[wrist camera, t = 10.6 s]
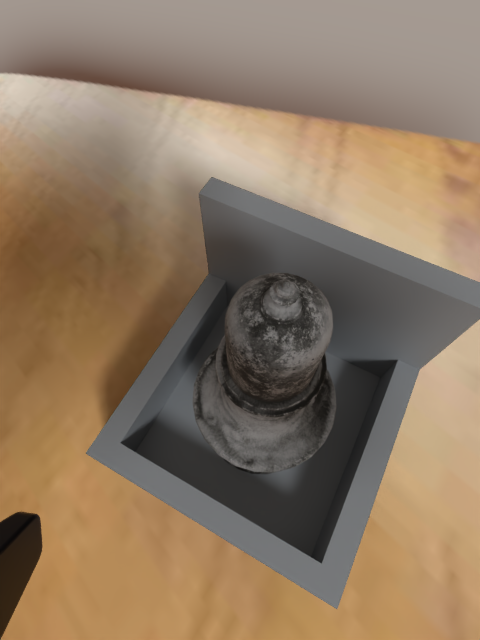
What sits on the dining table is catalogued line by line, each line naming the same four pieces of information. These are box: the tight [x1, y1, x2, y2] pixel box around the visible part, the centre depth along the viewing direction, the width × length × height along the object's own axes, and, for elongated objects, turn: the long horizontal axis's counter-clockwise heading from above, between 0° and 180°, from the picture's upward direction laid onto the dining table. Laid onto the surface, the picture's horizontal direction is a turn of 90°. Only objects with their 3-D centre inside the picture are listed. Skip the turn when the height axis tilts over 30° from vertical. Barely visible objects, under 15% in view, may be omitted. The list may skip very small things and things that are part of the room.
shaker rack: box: [86, 177, 480, 609], centre depth 16 cm, size 11×11×9 cm
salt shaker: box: [192, 273, 337, 474], centre depth 14 cm, size 6×6×12 cm
